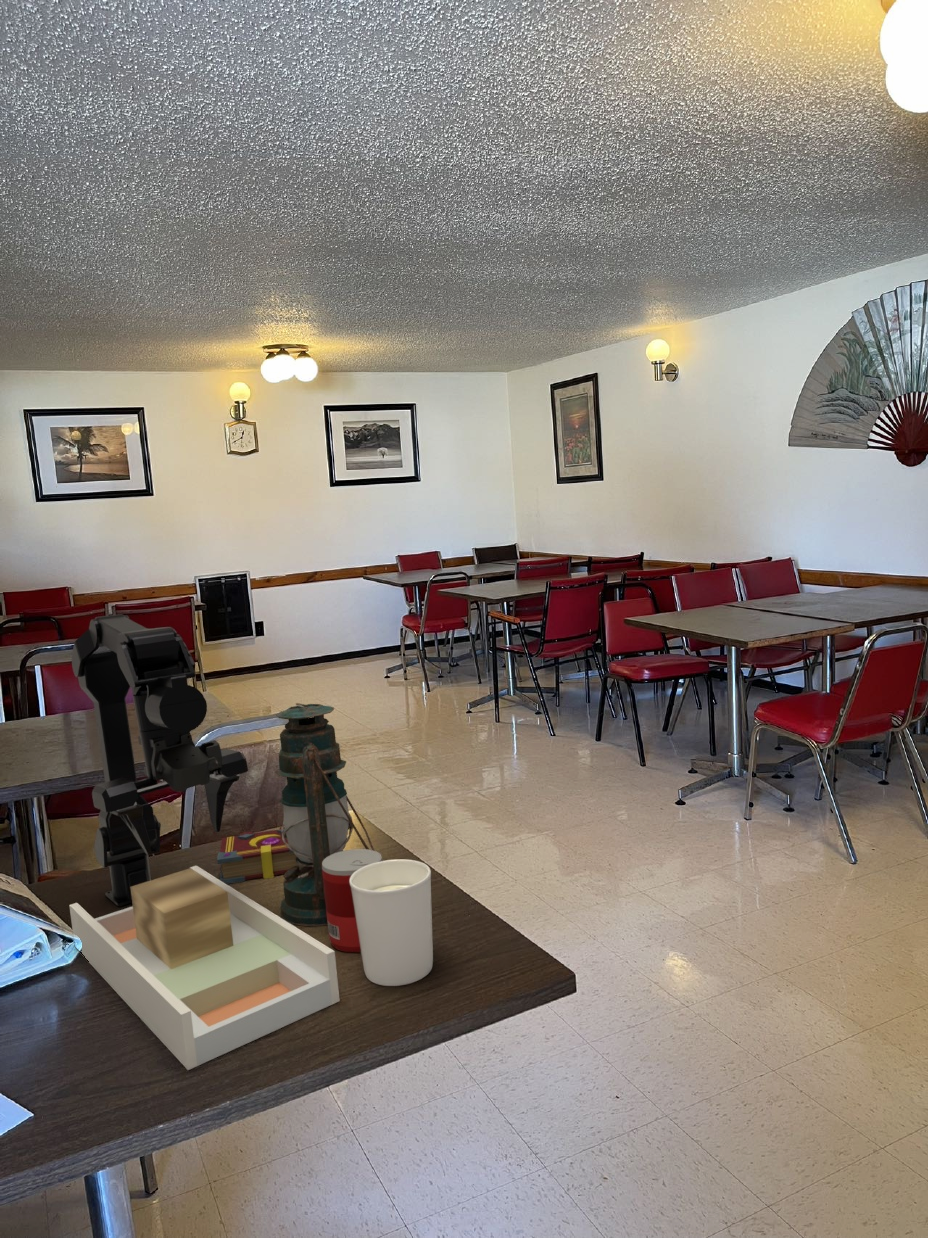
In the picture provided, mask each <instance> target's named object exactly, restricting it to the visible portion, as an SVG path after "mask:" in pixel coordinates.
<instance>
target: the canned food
mask: <svg viewBox="0 0 928 1238" xmlns="http://www.w3.org/2000/svg"><path fill="white" fill-rule="evenodd" d="M381 861H384V860H383V857H382V855H381V853H380V852H378V851H376V850H375V851H373V850H372V849H369V850H368V849H366V848H354V849H346V850H343V851H341V852H337V853H334V854H332V855H330V856H328V857H326V858H325V859H324V860H323V862H322V873H323V884H324V894H325V903H326V912H327V922H328V925H327V931H328V938H329V941H330V943H331V945H332V947H333V948H335V949H336V950H338V951H340V952H344V953H361V948H360V942H359V936H358V929H357V923H356V917H355V910H354V904H353V898H352V892H351V887H350V883H349V880H350V877H351V875H352V874H353V873H354V872H355V871H357V870H358V869H360V868H362V867H364V866H367V865H369V864H373V863H376V862H381Z"/></svg>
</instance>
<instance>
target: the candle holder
mask: <svg viewBox="0 0 928 1238" xmlns="http://www.w3.org/2000/svg"><path fill="white" fill-rule="evenodd" d="M431 870H432V869H431V868H430V866H428V865H427V864H426V863H424V862H422V861H419V860H414V859H403V858H402V859H400V858H399V859H396V858H395V859H387V860H383V861H381V862H376V863H373V864H369V865H367V866H364V867H362V868H360V869H358V870H357V871H355V872H354V873H353V874H352V875H351V877H350V880H349V883H350V887H351V892H352V898H353V904H354V910H355V917H356V923H357V929H358V936H359V942H360V948H361V952H360V953H361V960H362V965H363V970H364V974H365V977H366V978H367V979H368V980H369V981H370V982H371V983H374V984H376V985H379V986H384V987H399V986H405V985H410V984H413V983H416V982H417V981H420V980H422V979H424V978H425V977H427V975H429V973H431V971H432V969H433V965H434V964H433V963H434V952H433V951H434V948H433V919H432V917H433V915H432V913H433V912H432V910H433V909H432V886H431V885H432V884H431V880H432V879H431V878H432V877H431V876H432V871H431Z"/></svg>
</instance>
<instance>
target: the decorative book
mask: <svg viewBox="0 0 928 1238" xmlns="http://www.w3.org/2000/svg"><path fill="white" fill-rule="evenodd" d="M281 828H282V826H280V827H279V829H273V830H269V831H268V830H267V831H260V832H255V833H254V832H253V830H252V831H247V832H246V831H245V832H240V833H239V835H233V836H226V837H222V838H221V843H220V847H219V848H220V849H219V851H218V854H217V859H216V860H217V863H216V864H217V865H221V869H222V871H221V872H220V876H219V880H220V881H222V882H224V883H225V884H227V885H230V884H236V883H241V882H246V880H252V879H259V878H263V880H266V879H273V878H274V877H275V876H277V875H284V874H285V873H286V872H287V871H288V870H289V869H291V868H292V867H294V866H298V867H299V869H300V868H302V867H303V866H300V865H298V864H297V863H296V861H295V858H296V857H297V856H296V855H295V854H294V852H293V851H292V850H290V849H289V848H288V847H287V846H286V845H285V843H284V841H283V840H282V832H281ZM284 831H285V826H284ZM284 831H283V832H284ZM283 835H284V834H283ZM285 840H286V842H287V844H288V840H287V839H286V838H285ZM288 845H289V844H288ZM297 862H298V863H300V862H299V861H297ZM300 864H301V863H300ZM303 865H306V864H303Z"/></svg>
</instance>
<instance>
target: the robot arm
mask: <svg viewBox="0 0 928 1238" xmlns="http://www.w3.org/2000/svg"><path fill="white" fill-rule="evenodd" d="M71 653H72V654H71V665H72V672H73V674H74V676H75V678H77V679H78V685H79V687H80V688H81V691H83V692H84V693H85V694H86V695H87V697H88V698H89V699H90V700H91V701H92V703H93V709H94V716H95V720H96V721H95V722H96V729H97V735H98V742H99V748H100V755H101V764H102V769H103V776H104V782H101V783H98V784H95V785H94V787H93V789H92V791H91V797H92V803H93V807H94V808H95V809H97V810H100V811H99V813H98V823H99V827H98V828H96V835H95V841H94V845H93V849H94V855H95V859H96V862H97V863H98V864H100V866H102V868H103V869H104V868H108V867H109V873H110V874H109V875H110V882H111V889H112V890H108V891H106V892H105V896H106V897H107V899H109V900H110V901H111V902H113V904H115V905H116V906H117V907H122V906H125V905H128V904H132V896H131V888H130V887H132V886H135V885H138V884H141V883H144V882H148V881H151V880H152V878H151V870H150V869H151V868H150V861H149V856H151V855H153V854H159V853H160V850H161V827H162V824H161V822H160V821H159V820H158V818H157V816H156V815H155V814H154V808H153V807H152V805H151V804H150V803H149V802H148V801H147V800H146V799H145V798H144V797H143V796H142V795H145V794H149V793H153V792H155V791H159V790H162V789H166V788H169V787H170V788H169V789H171V790H172V791H174V792H177V793H178V792H179V793H180V792H185V791H187V790H188V789H190V788H194V787H196V786H204V789H205V790H204V791H205V795H206V796H205V797H206V801H207V807H208V812H209V817H210V823H211V825H212V828H213V831H214V833H219V832H220V831H221V827H222V821H223V814H224V810H225V809H224V808H225V803H226V799H227V796H228V793H229V790H230V789H231V787H232V785H233V784H234V783H235V782H239V780H240V774H241V775H242V774H245V773H247V772H249V767H248V762H247V758H246V756H245V755H244V753H243V752H241V751H238V750H234V749H230V748H225V749H221V746H220V743H219V742H218V741H217V740H210V741H206V742H203V743H201V744H200V745H197V746H196V744H195V742H194V741H193V737H192V736H193V735H192V734H191V731H193V730H196V729H197V728H198V727H199V726H200V725H201V724H202V723H203V722H204V720H205V718H206V715H207V713H208V703H207V700H206V698H205V696H204V694H203V693H202V692H201V691H200V690H199V689H198V688H197V687H194V686H192V685H190V684H188V679H193V678H196V671H195V668H196V663H195V661H194V659H193V657H192V654H191V653H190V651H189V649H188V647H187V645H186V643H185V642H184V640H183V638H182V636H181V635H180V634H178V633H177V631H176V630H175V628H173V627H172V626H165V627H155V628H147V627H145V626H143V625H141V624H139V623H137V622H135V621H134V620H132V619H130V616H129V615H127V614H125V615H124V614H122V613H121V614H119V613H118V614H111V615H102V616H96V617H95V618H92V619H91V620H90V622H89V626H88V629H87V630H85V632H84V633H83V634H81V635H80V636H79V637H78V638H77V639H76V640H75V641H74V642H73V648H72V652H71ZM130 689H131V692H132V700H133V704H134V711H135V716H136V717H135V718H136V720H137V727H138V733H139V736H137V739H138V744H139V745H141V748H142V754H143V759H144V764H145V765H144V767H143V771H144V775H145V776H147V777H146V778H142V779H138V780H137V772H136V766H135V764H136V763H135V758H134V751H133V744H132V737H131V730H130V723H129V717H128V715H129V714H128V710H127V709H128V708H127V703H126V697H127V695H128V694H129V690H130ZM158 781H159V782H158Z"/></svg>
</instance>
